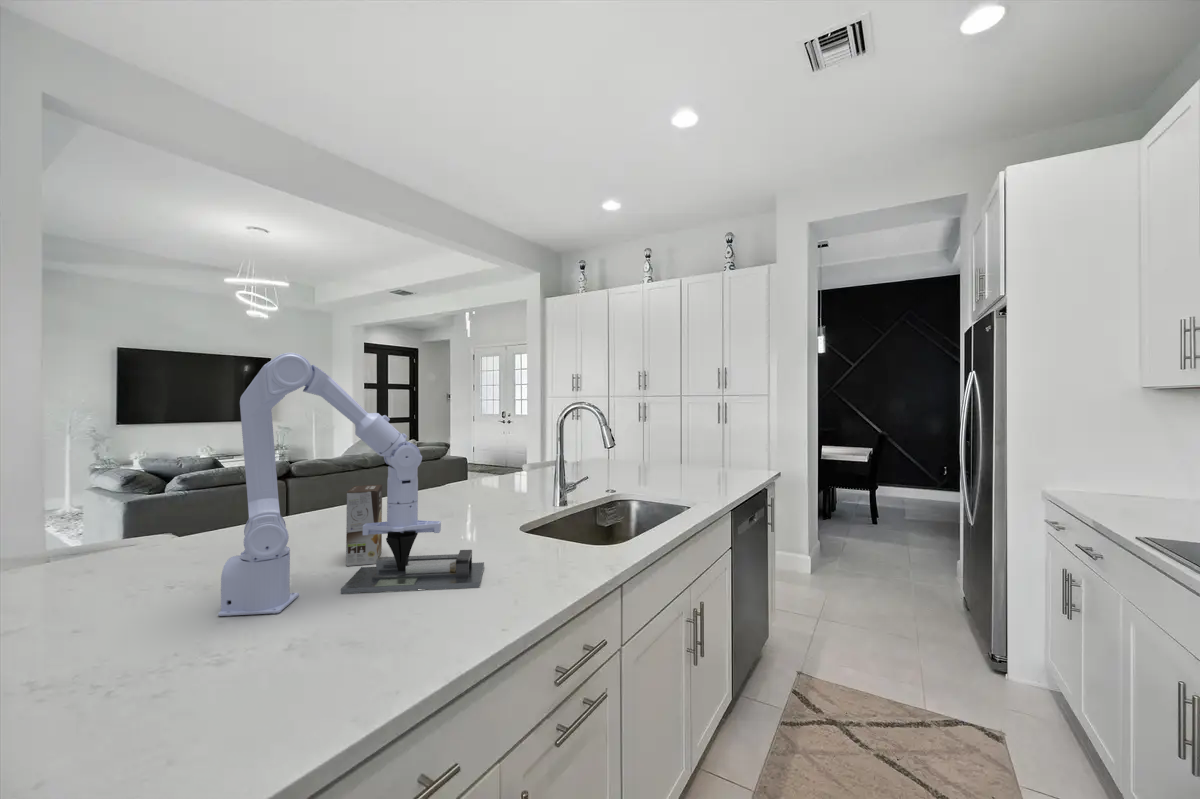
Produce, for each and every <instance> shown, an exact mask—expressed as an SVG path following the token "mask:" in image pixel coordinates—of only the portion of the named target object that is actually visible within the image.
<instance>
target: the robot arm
mask: <svg viewBox="0 0 1200 799" xmlns="http://www.w3.org/2000/svg"><path fill="white" fill-rule="evenodd" d="M303 387H304V388H303ZM301 388H303V390H302V392H303V393H307V394H311V395H313V396H314V395H316V396H318V397H321V398H322V399H323V400H324V401H325V402H327V403H329V405H331V406H332V407H333V408H334V409H336V411H338V412H339V413H340V414H342V415H343V416H344V417H345V418H346V419H348V420H349V421H350V422H351V423H353V424H354V427H355V428H354V429H355V430H354V431H355V432H354V433H355V436H356V437H358V438H359V439H360V440H361V441H362V442H363V443H365V444H366V446H368V447H369V448H370V449H372V450H373V451H374V452H375V453H376V454H377V455H378V456H380V457H383V459H384V462H385V464H386V465H388V467H387V479H386V480H387V481H386V482H387V486H386V487H387V490H386V491H387V494H386V495H387V496H386V503H387V504H386V508H387V509H386V521H382V522H378V523H366V524H364V525H363V535H369V534H382V535H386V536H387V537H386V538H385V539H386V540H385V541H386V543H387V545H388V546H389V548H390V550H391V552H392V554H393V555H392V556H393V557H395V561H396V564H397V569H398V571H405V570H406V565H407V562H408V558H409V556H410V553H411V551H412V548H413V545H414V542H415V540H416V538H417V536H418V534H420V533H422V534H423V533H433V534H439V533H441V530H442V521H441V520H438V521H437V520H420V519H419V518H418V517H419V515H418V514H419V501H418V500H419V478H418V476H419V475H418V472H419V471H418V467H419V466H420V465H421V464H422V460H423V455H422V454H421V452H420V451H421V450H420V448H419V447H418V446H417V445H416V444H415V443H412V442H410V441H408V440H406V439H408V435H407V434H406V433H404V432H402V433H401V432H400V431H399V430H398V429H396V428H395V426H393V424H391V423H390V420H391V419H390V417H388V416H387V415H386V414H384V415H381V414H380V413H379V412H368V411H366V409H364V408H363V407H362V406H361V405H360V404H359V403H358V402H357V401H356V400H355V399H354V398H353V397H352V396H351V395H350V394H348V393H347V391H346V390H345V389H343V387H342V386H341V385H340V384H338V383H337V382H336V380H334V379H333V378H332V377H331V376H330V375H328V374H327V373H326V372H325V371H323V370H322V369H321V368H319V367H318V366H316V365H315V364H312V365H311V363H310V361H309V360H308V359H307V358H306V357H304V356H303V355H302V354H299V353H296V352H285V353H281V354H279V355H277V356H275V357H274V358H273V359H271V360H270V361H267V363H265V364H264V365H263V366H262V367H261V369H260V370H259V371H258V372H257V374H256V375H255V376H254V378H253V379H252V381H251V382H250V384H249V385H248V386H247V388H246V389H245V390H244V392H243V393H242V394H241V396H240V397H239V398H240V400H239V408H240V409H239V410H240V412H239V413H240V421H241V422H240V424H241V434H242V445H243V459H244V471H245V484H246V494H247V496H246V498H247V511H248V520H247V521H246V523H245V525H244V529H243V533H244V534H243V535H244V538H243V547H244V550H243V551H242V552H241V553H240V555H232V556H230V557H229V558H228V559H227V561H225V563H224V565H223V568H222V572H221V575H220V611H219V612H218V613H217V616H219V617H220V616H221V617H223V616H226V617H227V616H244V615H245V616H246V615H262V614H264V615H267V614H279V613H281V612H282V611H283V610H285V609H286V607H288V606H290V604H292V602H294V600H296V599H298V597H299V596H300V593H299V592H291V591H290V590H291V587H290V586H291V585H290V584H291V582H290V581H291V580H290V579H291V578H290V577H291V575H290V574H291V548H290V546H287V545H288V542H289V537H290V536H289V531H288V529H287V526H286V525H287V524H286V520H285V519H284V517H283V516H282V515H281V511H280V510H281V509H280V500H279V488H278V475H277V462H276V449H275V439H274V438H275V437H274V427H273V424H274V423H273V412H272V411H273V408H274V407H276V405H277V404H279V402H280V401H281V400H283V399H284V398H285V397H286V396H287V395H288V394H290V393H292V392H295V391H297V390H299V389H301Z"/></svg>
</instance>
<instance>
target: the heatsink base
mask: <svg viewBox="0 0 1200 799" xmlns="http://www.w3.org/2000/svg"><path fill="white" fill-rule="evenodd" d="M450 559H456V573H446V574H422V575H406V570H405V571H398V569H397V564H396V561H395V557H394V556H380V557H379V558H378V559H377V560H376V564H375V566H362V567H360V568H359V569H358V570H357V571H356V572H355V573H354V574H353V575H352V576H351V577H350V579H349V580H348V581H347V582H346V583H345V584H344V585H343V586H341V588H340V595H343V594H342V593H351V594H361V593H360V592H373V593H383V592H382V591H394V592H403V591H402V590H416V591H419V590H418V589H437V590H452V589H451V588H458V589H473V588H474V589H478V588H480V585H481V582H482V577H483V573H484V570H483V569H485V562H473V549H460V550H459V552H458V553H455V554H431V555H429V554H428V555H425V554H424V555H422V554H421V555H409V558H408V562H409V561H424V560H450ZM408 562H407V563H408ZM445 588H446V589H445ZM449 588H450V589H449ZM400 590H401V591H400ZM358 592H359V593H358Z"/></svg>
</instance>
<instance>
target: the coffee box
mask: <svg viewBox="0 0 1200 799" xmlns="http://www.w3.org/2000/svg"><path fill="white" fill-rule="evenodd" d="M378 522H383V484H366V485H364V484H363V485H353V486H352V487H351V488H350V489H348V490H347V491H346V528H345V529H346V532H345V533H346V542H345V544H346V545H345V546H346V547H345V551H346V552H345V553H346V554H345V566H347V567H353V566H354V567H355V566H364V565H376V560H377V559H378V558H379V557H381V553H382V550H383V549H382V548H383V544H382V543H383V534H369V535H363V525H364V524H366V523H378Z"/></svg>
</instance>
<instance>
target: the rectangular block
mask: <svg viewBox="0 0 1200 799" xmlns="http://www.w3.org/2000/svg"><path fill="white" fill-rule="evenodd" d="M446 573H456V559H450V560H424V561H409V562H408V563H407V565H406V575H422V574H446Z"/></svg>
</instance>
